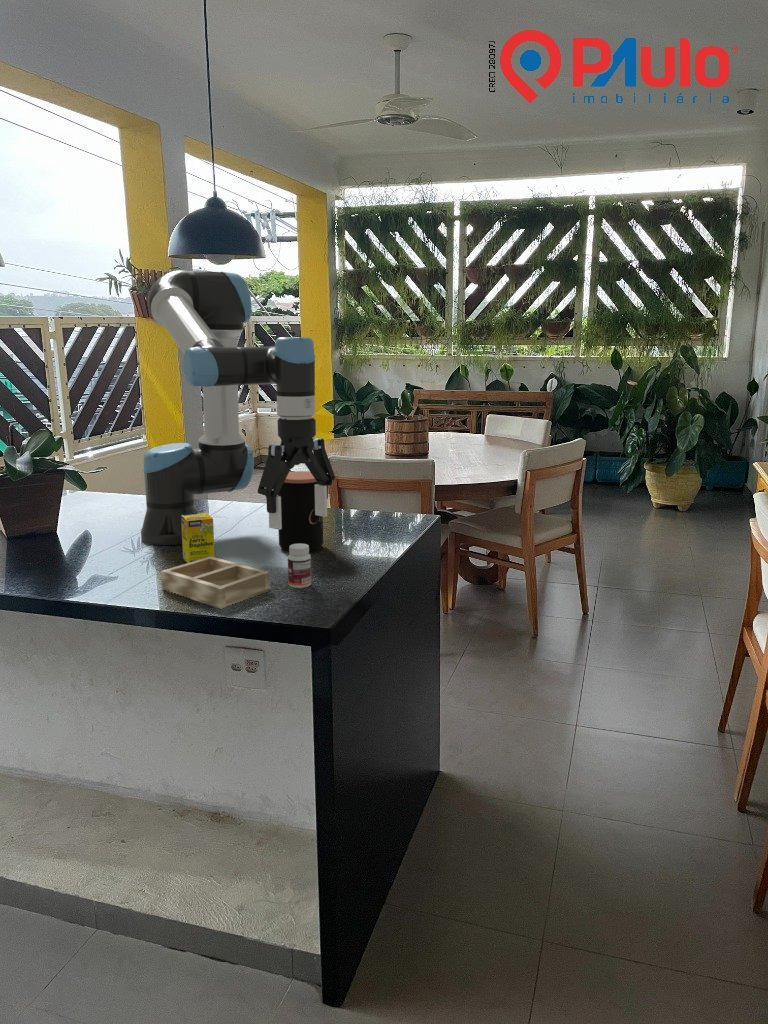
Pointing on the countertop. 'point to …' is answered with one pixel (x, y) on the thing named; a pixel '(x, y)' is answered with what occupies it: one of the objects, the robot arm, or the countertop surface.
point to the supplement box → (197, 537)
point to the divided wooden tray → (215, 581)
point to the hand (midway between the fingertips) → (299, 522)
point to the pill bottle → (299, 566)
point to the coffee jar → (300, 512)
